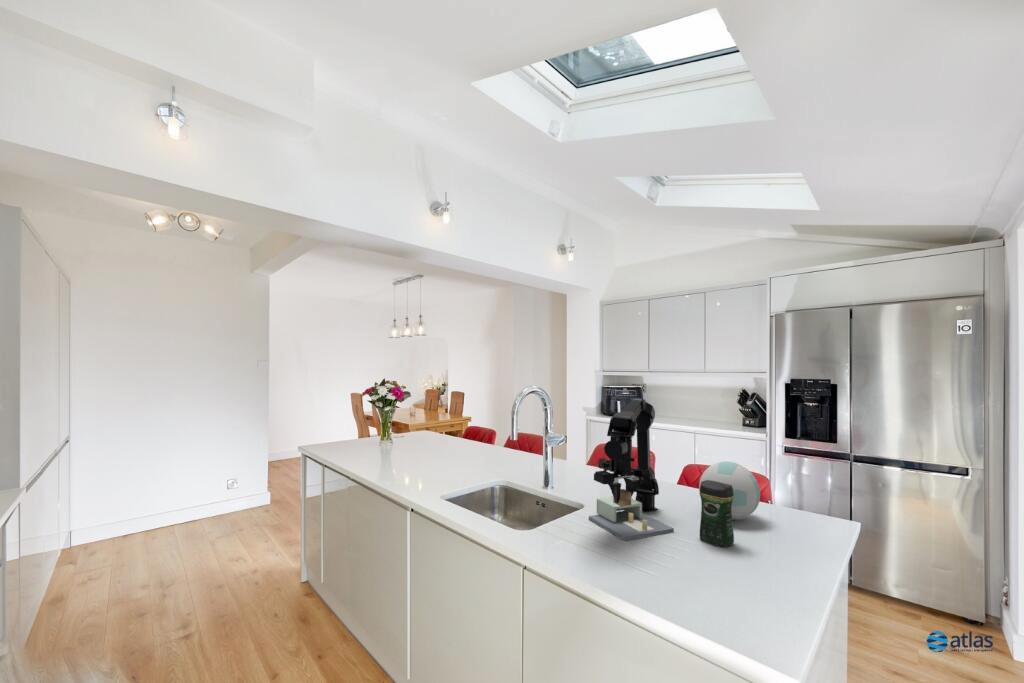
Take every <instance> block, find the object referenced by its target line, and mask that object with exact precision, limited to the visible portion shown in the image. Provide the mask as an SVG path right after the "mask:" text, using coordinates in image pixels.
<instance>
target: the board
mask: <svg viewBox="0 0 1024 683" xmlns="http://www.w3.org/2000/svg"><path fill="white" fill-rule="evenodd" d="M588 520H589V521H590V522H592V523H594V524H596V525H597V526H598V527H601V528H602V529H604V530H606V531H607V532H609V533H611V534H613V535H614V536H616V537H617V538H619V539H620V540H623V541H624V542H625V541H632V540H637V539H638V540H639V539H642V538H647V537H653V536H659V535H664V534H665V535H666V534H669V533H674V531H675V530H674V529H675V528H674V527H672V526H670V525H667V524H665V523H664V522H662V521H659V520H658V519H655V518H653V517H651V516H649V515H647V514H645V513H644V512H642V518H638V517H636V516H634V515H633V513H628V512H626V511H624V510H621V511H616V522H612V521H610V520H608V519H607V518H605V517H603V516H601V515H599V514H594V515H589V516H588Z"/></svg>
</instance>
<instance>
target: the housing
mask: <svg viewBox="0 0 1024 683" xmlns="http://www.w3.org/2000/svg"><path fill="white" fill-rule="evenodd" d="M620 511H626V512H628V513H633V515H634V516H636V517H638V518H642V513H643V511H642V503H641V502H638V501H636V499H634V498H632V497H631V505H627V506H619V505H617V504H615V503H613V495H612V496H606V497H598V498H596V514H597V515H601V516H603V517H605V518H607V519H608V520H610V521H612V522H616V512H620Z"/></svg>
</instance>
